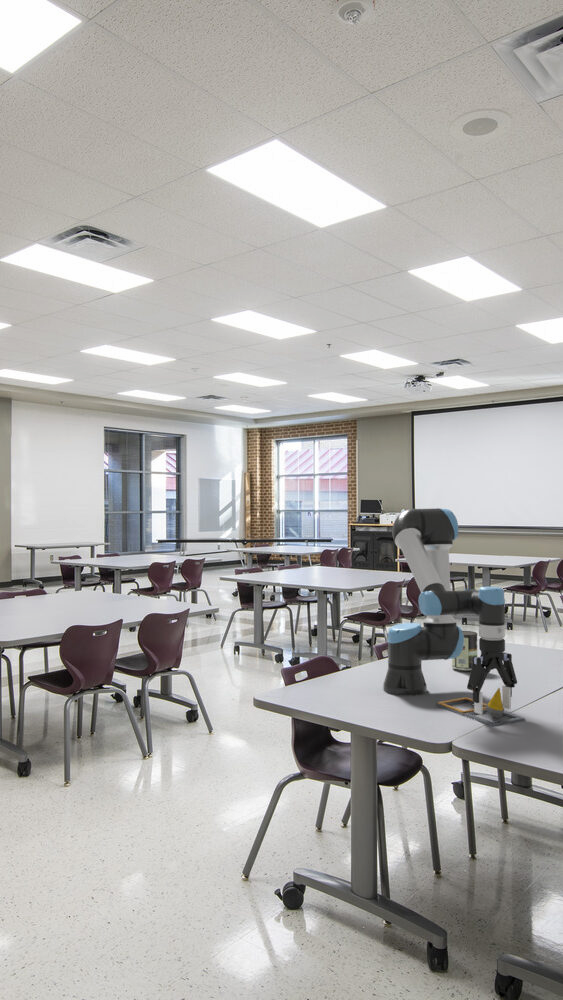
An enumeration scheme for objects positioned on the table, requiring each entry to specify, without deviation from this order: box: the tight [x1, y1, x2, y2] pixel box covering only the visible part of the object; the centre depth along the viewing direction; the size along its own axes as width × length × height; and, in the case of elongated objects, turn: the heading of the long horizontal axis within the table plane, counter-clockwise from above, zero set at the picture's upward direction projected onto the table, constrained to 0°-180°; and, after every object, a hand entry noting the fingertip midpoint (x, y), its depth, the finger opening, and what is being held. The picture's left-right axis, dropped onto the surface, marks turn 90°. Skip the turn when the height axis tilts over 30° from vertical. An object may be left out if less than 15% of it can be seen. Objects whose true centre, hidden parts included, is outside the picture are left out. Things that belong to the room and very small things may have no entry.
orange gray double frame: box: [435, 696, 526, 727], centre depth 211 cm, size 25×13×1 cm, turn 27°
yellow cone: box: [485, 687, 505, 719], centre depth 205 cm, size 5×5×10 cm
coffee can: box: [451, 630, 479, 671], centre depth 273 cm, size 10×10×14 cm
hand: (492, 710), depth 206 cm, fingers open, 11 cm apart
